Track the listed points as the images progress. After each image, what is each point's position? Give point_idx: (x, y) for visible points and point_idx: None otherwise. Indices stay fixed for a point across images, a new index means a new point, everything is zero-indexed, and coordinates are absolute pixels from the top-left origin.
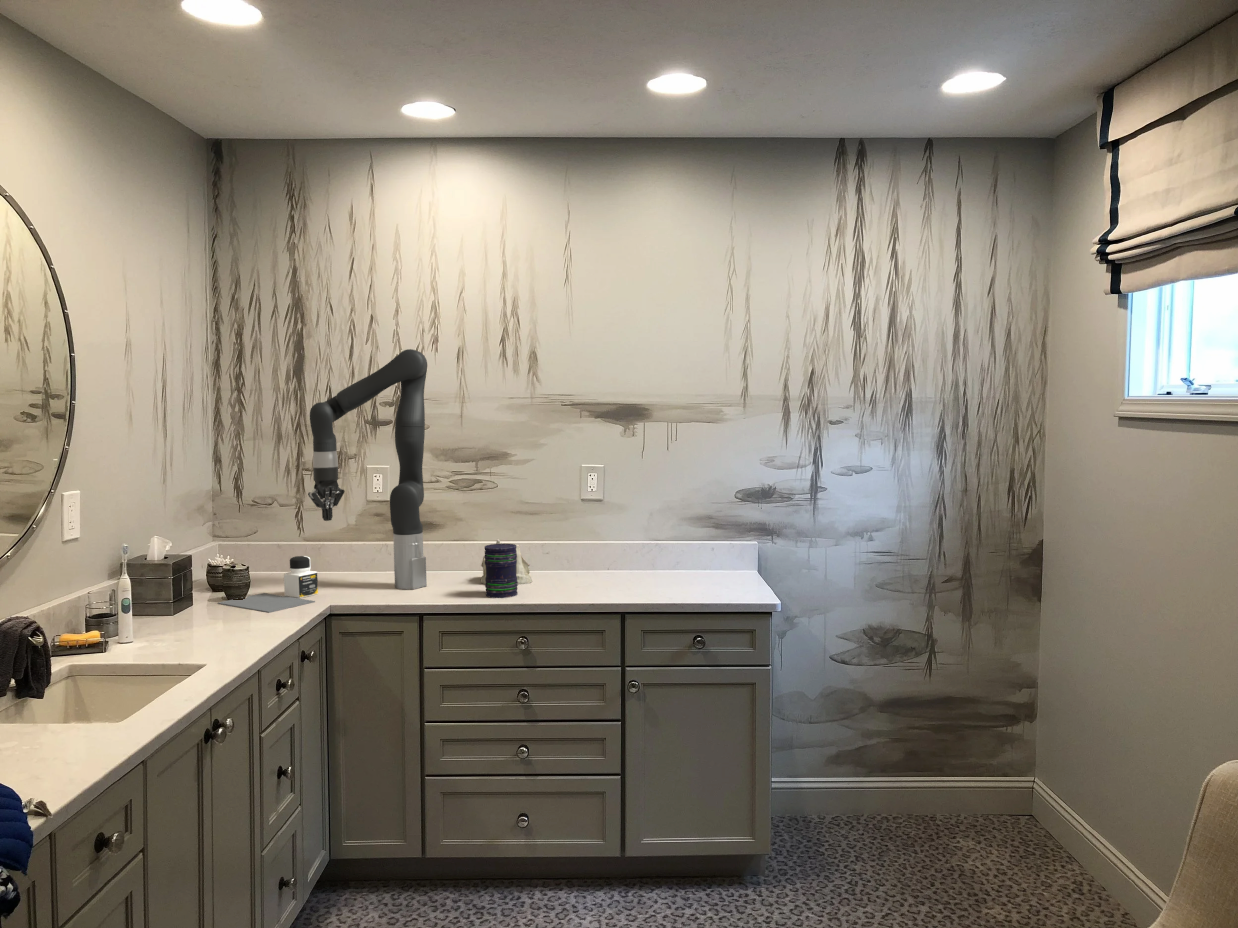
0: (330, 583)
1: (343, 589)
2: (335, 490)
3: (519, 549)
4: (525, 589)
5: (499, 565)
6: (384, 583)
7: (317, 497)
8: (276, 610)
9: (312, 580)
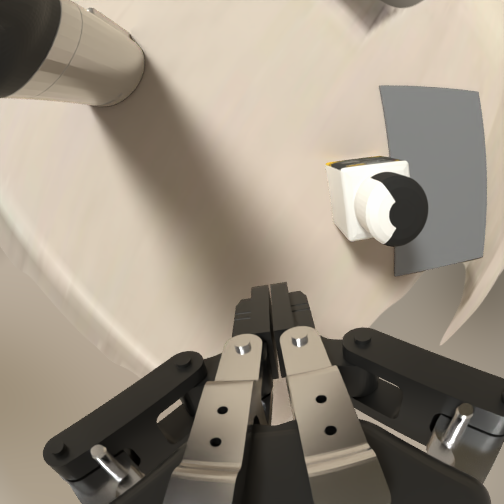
0: (224, 268)
1: (243, 166)
2: (151, 490)
3: None
4: None
5: None
6: (126, 157)
7: (459, 387)
8: (465, 90)
9: (354, 163)
